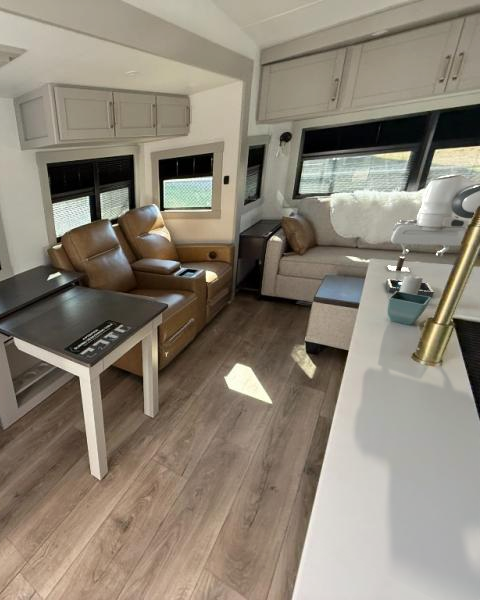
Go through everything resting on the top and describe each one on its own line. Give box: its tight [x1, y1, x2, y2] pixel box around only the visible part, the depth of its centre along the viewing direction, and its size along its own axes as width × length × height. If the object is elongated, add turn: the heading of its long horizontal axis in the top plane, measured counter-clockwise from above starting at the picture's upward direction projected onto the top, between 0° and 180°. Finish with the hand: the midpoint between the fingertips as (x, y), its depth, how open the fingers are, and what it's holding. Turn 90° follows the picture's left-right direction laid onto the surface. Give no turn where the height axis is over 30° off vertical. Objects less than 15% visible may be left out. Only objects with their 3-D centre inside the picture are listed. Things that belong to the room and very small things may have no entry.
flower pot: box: [386, 291, 432, 326], centre depth 109 cm, size 9×9×9 cm
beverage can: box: [399, 274, 424, 295], centre depth 118 cm, size 5×5×12 cm
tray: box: [385, 278, 435, 299], centre depth 131 cm, size 13×12×3 cm
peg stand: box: [387, 256, 411, 273], centre depth 152 cm, size 7×7×6 cm
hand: (421, 255), depth 126 cm, fingers open, 8 cm apart
